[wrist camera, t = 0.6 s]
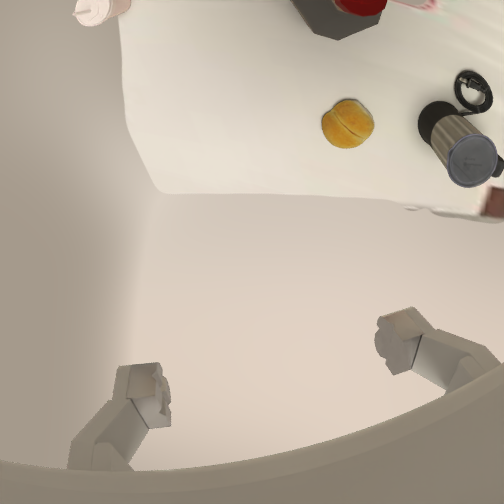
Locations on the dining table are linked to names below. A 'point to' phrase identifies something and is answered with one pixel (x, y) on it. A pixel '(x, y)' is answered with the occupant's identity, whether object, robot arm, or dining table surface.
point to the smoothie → (99, 10)
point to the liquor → (339, 15)
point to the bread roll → (347, 124)
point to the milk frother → (461, 136)
